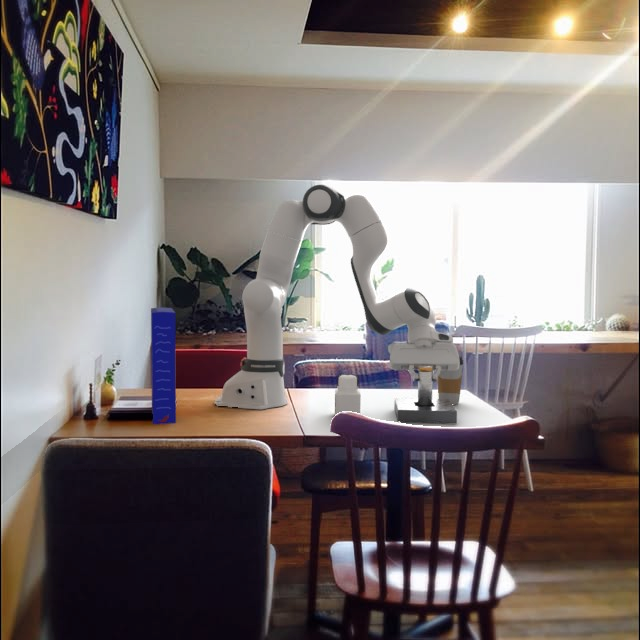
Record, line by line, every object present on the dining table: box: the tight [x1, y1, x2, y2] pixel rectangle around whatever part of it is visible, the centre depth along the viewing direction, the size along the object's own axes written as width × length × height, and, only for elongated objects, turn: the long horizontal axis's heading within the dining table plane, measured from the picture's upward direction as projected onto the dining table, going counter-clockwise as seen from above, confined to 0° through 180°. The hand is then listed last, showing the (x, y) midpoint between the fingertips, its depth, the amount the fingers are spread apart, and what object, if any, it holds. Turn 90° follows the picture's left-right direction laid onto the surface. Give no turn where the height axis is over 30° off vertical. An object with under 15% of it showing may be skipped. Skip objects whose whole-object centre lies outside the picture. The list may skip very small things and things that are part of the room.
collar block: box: [393, 397, 458, 424], centre depth 175 cm, size 16×16×4 cm
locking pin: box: [417, 365, 434, 405], centre depth 174 cm, size 4×4×11 cm
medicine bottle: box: [334, 373, 362, 415], centre depth 174 cm, size 7×7×12 cm
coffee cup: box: [437, 355, 464, 405], centre depth 194 cm, size 8×8×15 cm
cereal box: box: [150, 307, 177, 425], centre depth 172 cm, size 22×6×30 cm, turn 16°
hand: (425, 380), depth 173 cm, fingers closed on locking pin, 4 cm apart
